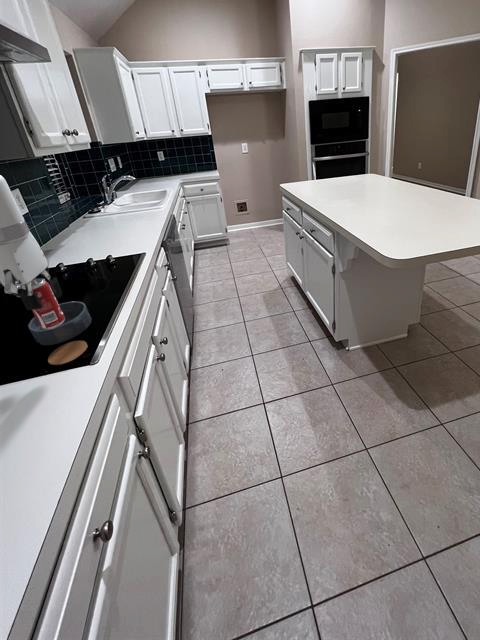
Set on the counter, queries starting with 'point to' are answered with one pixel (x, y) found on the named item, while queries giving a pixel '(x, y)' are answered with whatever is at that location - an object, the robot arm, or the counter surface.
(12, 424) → the counter surface
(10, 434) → the counter surface
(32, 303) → the robot arm
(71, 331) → the bowl
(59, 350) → the coaster
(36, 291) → the soda can
